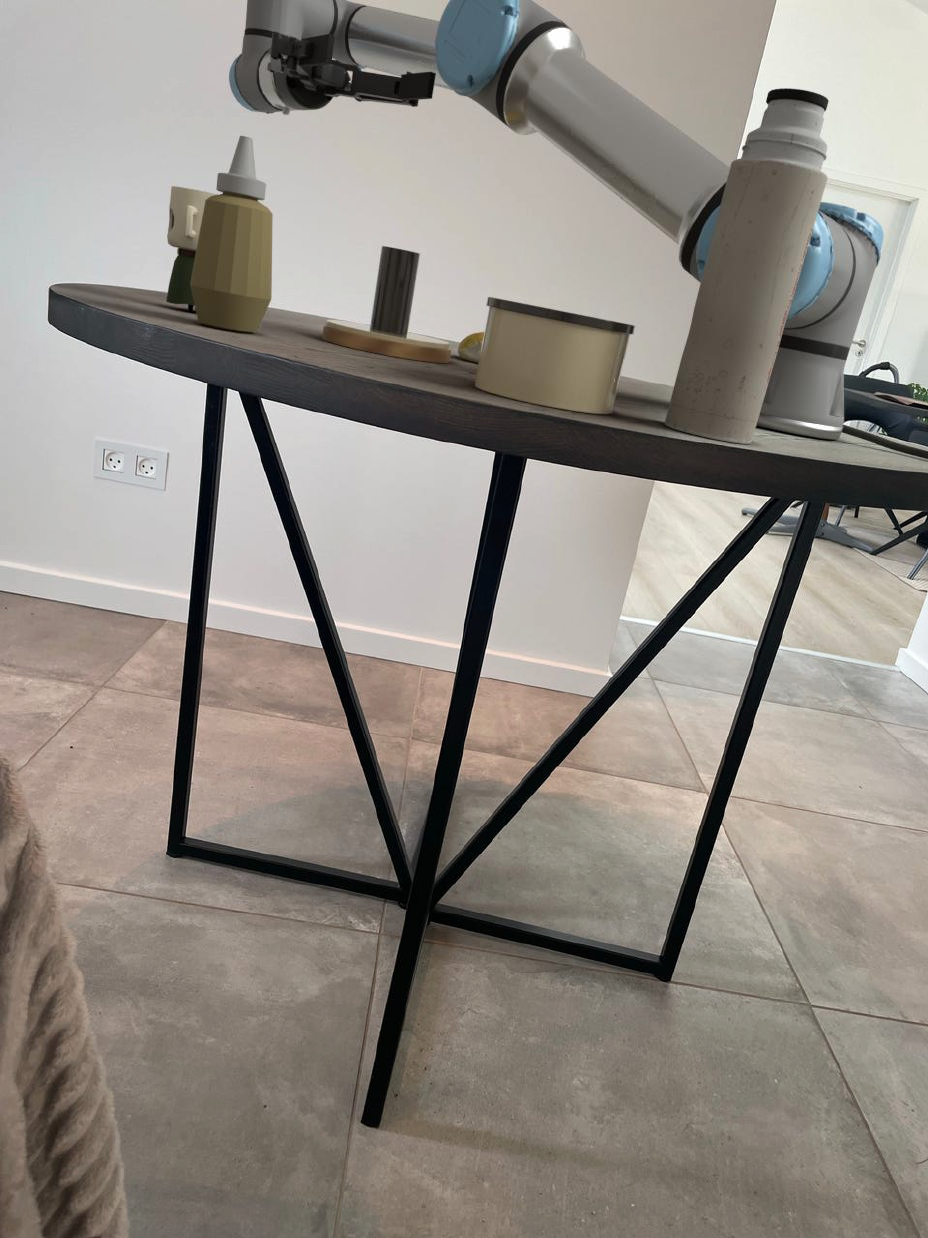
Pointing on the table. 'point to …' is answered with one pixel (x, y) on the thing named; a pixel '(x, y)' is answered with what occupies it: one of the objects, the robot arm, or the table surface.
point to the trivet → (386, 346)
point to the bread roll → (471, 347)
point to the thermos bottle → (752, 270)
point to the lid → (392, 302)
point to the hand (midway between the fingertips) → (382, 67)
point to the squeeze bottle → (234, 249)
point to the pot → (552, 357)
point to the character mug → (184, 240)
